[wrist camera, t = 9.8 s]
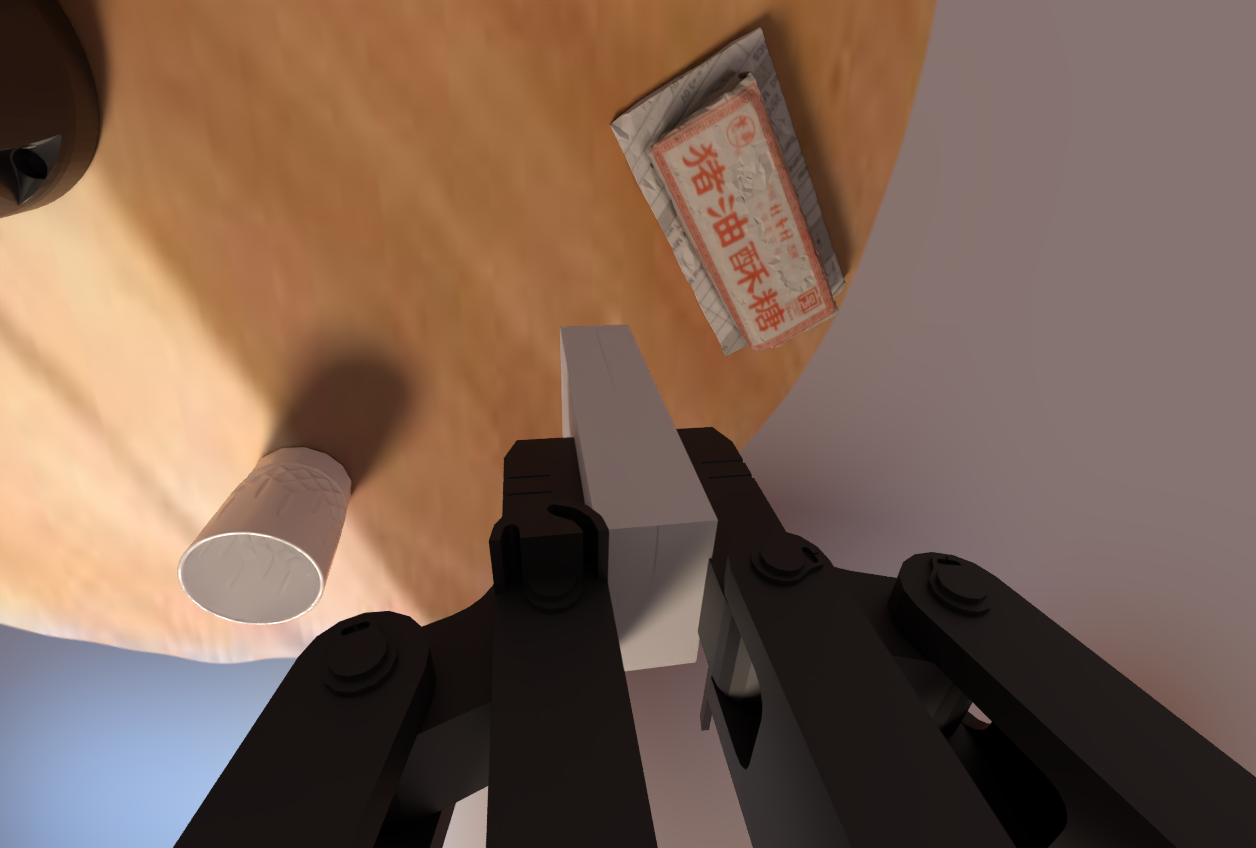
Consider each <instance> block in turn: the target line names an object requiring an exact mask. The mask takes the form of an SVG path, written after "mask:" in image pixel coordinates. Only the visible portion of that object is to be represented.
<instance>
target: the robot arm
mask: <svg viewBox="0 0 1256 848" xmlns="http://www.w3.org/2000/svg"><path fill="white" fill-rule="evenodd" d="M98 129H99V111H98V101H97V94H96V89H95V84H94V80H93V77H92V73H91V70H90V67H89V64H88V61H87V58H86V56H85V53H84V51H83V48H82V46H81V44H80V42H79V40H78V38H77V36H76V33H75V31H74V29H73V28H72V26H71V24H70V22H69V20H68V19H67V17H66V15H65V14H64V12H63V10H62V9H61V7H60V6H59V4H58V2H57V1H56V0H0V218H3V217H7V216H11V215H14V214H18V213H22V212H26V211H29V210H33V209H37V208H39V207H42V206H44V205H47V204H49V203H51V202H53V201H55V200H56V199H58V198H60V197H61V196H63V195H64V194H65V193H67V192H68V191H69V190H70V189H71V188H72V187H73V186H74V185H75V184H76V183H77V182H78V181H79V180H80V178H81V177H82V176H83V174H84V173H85V171H86V169H87V168H88V166H89V164H90V162H91V159H92V157H93V154H94V151H95V147H96V143H97V137H98ZM560 348H561V386H562V425H563V438H548V439H531V440H517V441H516V442H515V444H514V445H513V446H512V448H511V449H510V450H509V452H508V453H507V455H506V456H505V457H504V482H503V511H502V518H501V519H500V520H499V521H498V522H497V523H496V524H495V525H494V527H493V530H492V533H491V536H490V539H489V547H490V555H491V564H492V572H493V581H494V584H493V586H492V587H491V588H490V589H489V590H488V591H487V593H486V594H485V595H484V596H483V597H482V598H481V599H479V600H478V601H477V602H475V603H474V604H472V605H471V606H470V607H468V608H466V609H464V610H462V611H460V612H458V613H456V614H454V615H452V616H449V617H446V618H444V619H441V620H438V621H436V622H433V623H430V624H428V625H425V626H422V627H421V626H420V625H419V624H418V623H417V622H416V621H414V620H413V619H412V618H411V617H410V616H406V615H402V614H399V613H395V612H391V611H382V612H369V613H363V614H360V615H357V616H354V617H352V618H349V619H346V620H343V621H340V622H338V623H337V624H335V625H334V626H332V627H331V628H329V629H328V630H326V631H325V632H323V633H322V634H320V635H318V636H317V637H316V638H315V639H314V640H313V641H312V642H311V643H310V644H309V646H308V647H307V648H306V649H305V650H304V651H303V652H302V653H301V655H300V656H299V657H298V658H297V660H296V661H295V663H294V664H293V666H292V667H291V669H290V670H289V672H288V673H287V675H286V677H285V678H284V680H283V681H282V683H281V684H280V685H279V687H278V689H277V690H276V692H275V693H274V695H273V696H272V698H271V699H270V701H269V702H268V704H267V705H266V707H265V708H264V710H263V712H262V713H261V715H260V716H259V717H258V719H257V720H256V722H255V724H254V725H253V727H252V728H251V730H250V731H249V733H248V734H247V736H246V737H245V739H244V741H243V742H242V743H241V745H240V746H239V748H238V749H237V751H236V753H235V754H234V756H233V757H232V759H231V760H230V762H229V763H228V765H227V766H226V768H225V769H224V771H223V772H222V774H221V775H220V777H219V778H218V780H217V782H216V783H215V785H214V786H213V788H212V789H211V790H210V792H209V794H208V795H207V797H206V798H205V800H204V801H203V803H202V804H201V806H200V807H199V809H198V810H197V812H196V813H195V815H194V816H193V818H192V819H191V821H190V822H189V824H188V826H187V827H186V829H185V830H184V832H183V833H182V835H181V836H180V838H179V840H178V841H177V842H176V844H175V845H174V847H173V848H442V847H443V843H444V840H445V837H446V834H447V830H448V827H449V824H450V820H451V817H452V814H453V811H454V807H455V804H456V802H458V801H460V800H462V799H464V798H466V797H468V796H469V795H471V794H473V793H475V792H477V791H479V790H481V789H483V788H485V787H487V786H488V807H487V836H486V848H658V847H657V842H656V836H655V832H654V826H653V820H652V815H651V810H650V804H649V800H648V794H647V788H646V783H645V778H644V772H643V767H642V762H641V756H640V752H639V746H638V741H637V735H636V730H635V724H634V719H633V714H632V709H631V703H630V698H629V692H628V687H627V682H626V677H625V671H630V670H639V669H645V668H654V667H662V666H670V665H678V664H685V663H693V662H696V658H697V651H698V645H699V638H700V641H701V644H702V647H703V650H704V653H705V656H706V659H707V662H708V665H709V668H708V673H707V679H706V685H705V690H704V696H703V701H702V707H701V713H700V719H701V730H709V726H710V721H711V716H713V719H714V722H715V725H716V729H717V732H718V735H719V738H720V742H721V745H722V748H723V751H724V755H725V758H726V761H727V764H728V768H729V771H730V774H731V777H732V781H733V784H734V787H735V790H736V794H737V797H738V800H739V804H740V807H741V810H742V813H743V816H744V820H745V823H746V826H747V830H748V833H749V836H750V839H751V843H752V846H753V848H1256V777H1255V776H1253V775H1252V774H1251V773H1250V772H1248V771H1247V770H1246V769H1244V768H1243V767H1242V766H1241V765H1239V764H1238V763H1237V762H1235V761H1234V760H1233V759H1231V758H1230V757H1229V756H1228V755H1226V754H1225V753H1224V752H1222V751H1221V750H1219V749H1218V748H1217V747H1215V746H1214V745H1213V744H1212V743H1211V742H1209V741H1208V740H1207V739H1206V738H1204V737H1203V736H1202V735H1200V734H1199V733H1198V732H1196V731H1195V730H1194V729H1192V728H1191V727H1190V726H1189V725H1187V724H1186V723H1185V722H1184V721H1182V720H1181V719H1180V718H1178V717H1177V716H1176V715H1174V714H1173V713H1172V712H1171V711H1169V710H1168V709H1167V708H1165V707H1164V706H1163V705H1161V704H1160V703H1159V702H1158V701H1156V700H1155V699H1153V698H1152V697H1151V696H1150V695H1149V694H1147V693H1146V692H1145V691H1143V690H1142V689H1141V688H1139V687H1138V686H1137V685H1136V684H1134V683H1133V682H1132V681H1130V680H1129V679H1128V678H1126V677H1125V676H1124V675H1123V674H1121V673H1120V672H1119V671H1117V670H1116V669H1115V668H1114V667H1112V666H1111V665H1110V664H1108V663H1107V662H1106V661H1104V660H1103V659H1102V658H1101V657H1099V656H1098V655H1097V654H1095V653H1094V652H1093V651H1092V650H1090V649H1089V648H1087V647H1086V646H1085V645H1084V644H1082V643H1081V642H1080V641H1079V640H1077V639H1076V638H1075V637H1073V636H1072V635H1071V634H1069V633H1068V632H1067V631H1066V630H1064V629H1063V628H1062V627H1060V626H1059V625H1058V624H1057V623H1055V622H1054V621H1053V620H1051V619H1050V618H1049V617H1048V616H1046V615H1045V614H1044V613H1042V612H1041V611H1040V610H1038V609H1037V608H1036V607H1035V606H1033V605H1032V604H1031V603H1029V602H1028V601H1027V600H1025V599H1024V598H1023V597H1022V596H1020V595H1019V594H1018V593H1016V592H1015V591H1014V590H1012V589H1011V588H1010V587H1009V586H1007V585H1006V584H1005V583H1004V582H1002V581H1001V580H1000V579H998V578H997V577H996V576H994V575H993V574H991V573H989V572H988V571H986V570H985V569H983V568H981V567H980V566H978V565H976V564H974V563H972V562H969V561H967V560H964V559H962V558H959V557H956V556H954V555H948V554H941V553H935V552H929V553H922V554H915V555H913V556H912V557H910V558H909V559H907V560H906V561H904V562H903V564H902V567H901V569H900V571H899V574H898V576H897V578H893V577H887V576H881V575H874V574H868V573H861V572H855V571H849V570H844V569H840V568H836V567H834V566H833V565H832V563H831V562H830V560H829V559H828V558H827V557H826V556H825V555H824V553H823V552H822V551H821V550H820V549H819V548H818V547H817V546H815V545H814V544H812V543H810V542H809V541H807V540H805V539H804V538H802V537H800V536H798V535H794V534H791V533H788V532H786V531H785V529H784V527H783V526H782V524H781V522H780V521H779V519H778V517H777V516H776V514H775V512H774V511H773V509H772V507H771V506H770V504H769V502H768V501H767V499H766V497H765V496H764V494H763V493H762V491H761V489H760V487H759V486H758V484H757V482H756V481H755V479H754V478H752V476H751V473H750V471H749V469H748V467H747V466H746V464H745V463H743V459H742V457H741V456H740V454H739V452H738V451H737V449H736V447H735V446H734V444H733V442H732V441H731V440H729V439H728V438H727V437H725V436H724V435H722V434H721V433H720V432H718V431H717V430H716V429H714V428H713V427H704V428H686V429H676V428H675V426H674V424H673V421H672V419H671V417H670V415H669V413H668V411H667V408H666V406H665V404H664V402H663V400H662V398H661V395H660V393H659V391H658V389H657V387H656V384H655V382H654V380H653V378H652V376H651V374H650V371H649V369H648V367H647V365H646V363H645V361H644V358H643V356H642V354H641V352H640V350H639V347H638V345H637V343H636V341H635V339H634V337H633V334H632V332H631V330H630V328H629V326H628V325H605V326H567V327H560ZM972 702H973V703H974V704H975V705H976V706H977V707H978V708H979V709H980V710H981V711H982V712H983V713H984V714H985V715H986V716H987V717H988V718H989V719H990V720H991V721H992V722H991V724H989V723H985V722H983V721H980V720H978V719H977V718H976V717H974V716H973V715H972V714H971V713H969V712H968V709H969V708H970V706H971V704H972Z"/></svg>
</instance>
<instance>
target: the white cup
mask: <svg viewBox="0 0 1256 848" xmlns="http://www.w3.org/2000/svg"><path fill="white" fill-rule="evenodd" d="M351 484H352V481H351V479H350V478H349V476H348V474H347V472H346V470H345V469H344V467H343V465H341V464H340V463H338V462H337V461H336V460H334V459H333V458H332V457H330V456H329V455H328V454H326V453H323V452H319V451H316V450H313V449H309V448H306V447H294V448H281V449H279V450H277V451H274V452H272V453H270V454H268V455H266V456H264V457H263V458H262V459H261V460H260V461H259V463H258V464H257V465H256V467H255V468H254V469H253V471H252V472H251V473H250V474H249V475H248V477H247V478H246V479H245V480H244V481H242V482H241V483H240V484H239V485H238V487H237V488H236V489H235V490H234V491H233V492H232V493H231V495H230V496H229V497H228V498H227V499H226V501H225V502H224V503H223V504H222V506H221V507H220V508H219V509H218V511H217V512H216V513H215V514H214V516H213V517H212V518H211V520H210V521H209V522H208V523H207V525H206V526H205V527H204V528H203V530H202V531H201V532H200V534H199V535H198V536H197V537H196V539H195V540H194V541H193V542H192V544H191V545H190V546H189V547H188V549H187V550H186V551H185V552H184V554H183V555H182V557H181V559H180V561H179V564H178V579H179V583H180V585H181V587H182V589H183V591H184V592H185V593H186V595H187V596H188V597H189V598H190V599H191V600H192V601H193V602H194V603H195V604H196V605H198V606H199V607H201V608H202V609H204V610H205V611H207V612H209V613H211V614H213V615H215V616H218V617H220V618H223V619H226V620H229V621H233V622H238V623H243V624H253V625H268V624H277V623H283V622H287V621H290V620H293V619H296V618H298V617H300V616H302V615H304V614H306V613H307V612H309V611H310V610H311V609H312V608H313V607H314V606H315V605H316V604H317V603H318V602H319V600H320V599H321V597H322V594H323V591H324V588H325V585H326V582H327V578H328V575H329V572H330V569H331V565H332V562H333V559H334V556H335V553H336V550H337V546H338V543H339V540H340V536H341V532H342V528H343V525H344V521H345V517H346V511H347V507H348V504H349V501H350V498H351Z"/></svg>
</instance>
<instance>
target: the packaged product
mask: <svg viewBox="0 0 1256 848" xmlns="http://www.w3.org/2000/svg"><path fill="white" fill-rule="evenodd" d="M610 126H611V128H612V130H613V132H614V134H615V136H616V138H617V140H618V142H619V144H620V146H621V149H622V151H623V153H624V155H625V157H626V159H627V162H628V164H629V166H630V168H631V170H632V172H633V175H634V177H635V179H636V181H637V183H638V185H639V187H640V189H641V191H642V193H643V194H644V196H645V198H646V200H647V202H648V203H649V205H650V207H651V209H652V211H653V213H654V215H655V216H656V218H657V220H658V222H659V224H660V226H661V228H662V230H663V232H664V233H665V235H666V237H667V239H668V241H669V243H670V245H671V247H672V249H673V252H674V254H675V256H676V259H677V261H678V263H679V266H680V268H681V270H682V271H683V273H684V274H685V277H686V279H687V281H688V282H689V284H690V285H691V287H692V288H693V290H694V292H695V295H696V298H697V300H698V302H699V305H700V307H701V309H702V311H703V313H704V315H705V317H706V319H707V321H708V322H709V324H710V326H711V327H712V329H713V331H714V332H715V334H716V336H717V337H718V340H719V342H720V344H721V347H722V349H723V351H724V353H725V356H729V355H730V354H732V353H733V352H735V351H737V350H739V349H741V348H743V347H744V346H746V345H748V344H749V345H750V347H751V348H752V349H754V350H756V351H763V350H766V349H769V348H773V347H776V348H778V347H779V346H781V345H782V344H783V343H784V342H786V341H787V340H789V339H791V338H794V337H795V336H797V335H798V334H800V333H802V332H805V331H809V330H810V329H812V328H814V327H817V326H818V325H819V324H820V323H822V322H824V321H826V320H828V319H830V318H832V317H835V316H836V315H838V308H837V306H836V302H835V301H834V300H833V297H834V296H837V295H839V294H840V292H841V291H842V289H843V288H844V286H845V285H846V282H845V280H844V278H843V276H842V273H841V269H840V267H839V264H838V261H837V258H836V254H835V251H834V249H833V246H832V243H831V240H830V237H829V234H828V230H827V228H826V225H825V223H824V218H823V215H822V213H821V210H820V206H819V204H818V201H817V197H816V193H815V190H814V187H813V184H812V181H811V179H810V176H809V173H808V169H807V166H806V163H805V160H804V158H803V154H802V152H801V149H800V146H799V142H798V139H797V136H796V134H795V131H794V129H793V126H792V122H791V118H790V115H789V111H788V108H787V105H786V102H785V99H784V96H783V93H782V91H781V88H780V84H779V81H778V78H777V75H776V72H775V69H774V66H773V62H772V60H771V58H770V55H769V52H768V49H767V46H766V43H765V39H764V35H763V32H762V29H761V28H760V27H759V28H757V29H756V30H754V31H752V32H750V33H748V34H746V35H744V36H742V37H740V38H738V39H736V40H734V41H732V42H731V43H729V44H728V45H727V46H725V47H724V48H722V49H721V50H720V51H718V52H717V53H715V54H714V55H713V56H711V57H710V58H708V59H707V60H706V61H704V62H703V63H702V64H700V65H699V66H697V67H695V68H693V69H691V70H690V71H688V72H686V73H684V74H682V75H680V76H679V77H677V78H675V79H674V80H672V81H670V82H669V83H667V84H666V85H664V86H662V87H661V88H659V89H658V90H656V91H654V92H653V93H651V94H649V95H648V96H646V97H645V98H643V99H641V100H640V101H639V102H637V103H636V104H635V105H633V106H632V107H631V108H630V109H628V110H627V111H626V112H625V113H623V114H622V115H621V116H620V117H618V118H617V119H616V120H615V121H613V122H612V123H611V124H610Z"/></svg>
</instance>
